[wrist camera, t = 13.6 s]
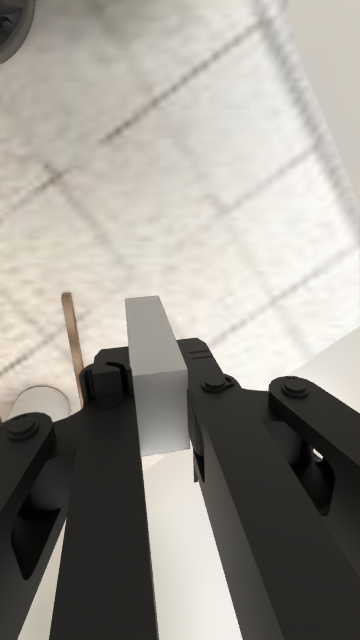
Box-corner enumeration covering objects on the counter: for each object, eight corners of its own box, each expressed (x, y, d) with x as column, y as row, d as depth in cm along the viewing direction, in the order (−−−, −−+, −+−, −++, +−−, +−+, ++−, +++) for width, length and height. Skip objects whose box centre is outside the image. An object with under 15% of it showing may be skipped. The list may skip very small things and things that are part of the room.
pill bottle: (2, 407, 49) (-43, 493, 35) (42, 374, 48) (13, 450, 34) (43, 437, 52) (16, 528, 38) (81, 407, 51) (69, 488, 37)
